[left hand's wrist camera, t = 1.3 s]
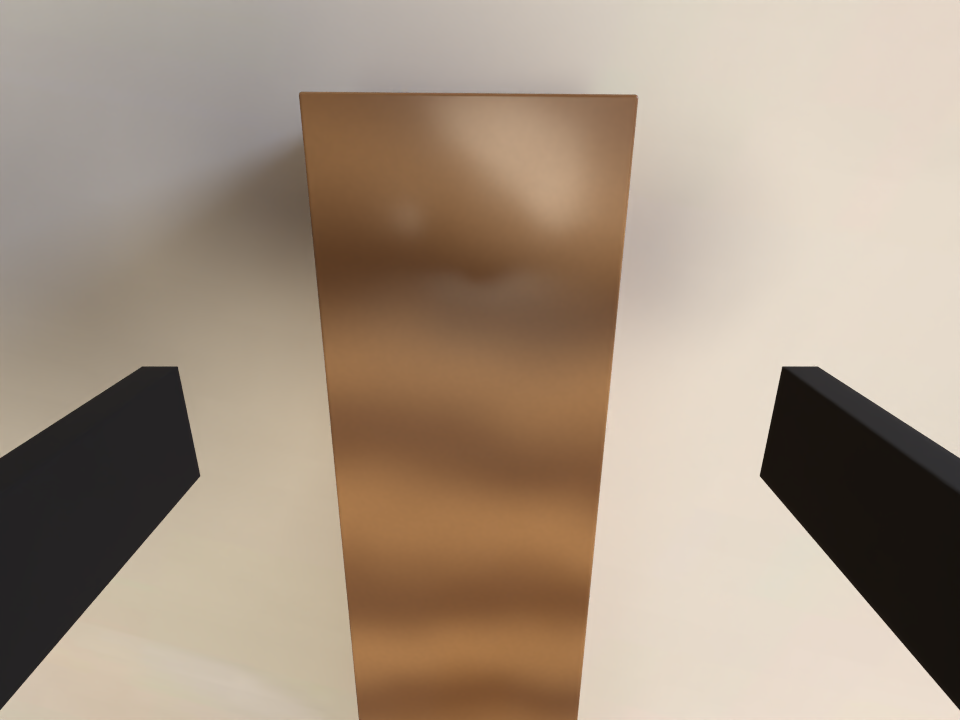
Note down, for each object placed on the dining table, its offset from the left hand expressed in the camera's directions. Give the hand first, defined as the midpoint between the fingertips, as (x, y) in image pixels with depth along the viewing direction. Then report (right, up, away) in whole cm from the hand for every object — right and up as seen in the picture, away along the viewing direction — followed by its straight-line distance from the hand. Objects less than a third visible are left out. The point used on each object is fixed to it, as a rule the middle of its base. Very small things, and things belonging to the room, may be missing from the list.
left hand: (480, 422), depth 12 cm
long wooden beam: (0, -17, +20) cm, 26 cm away
